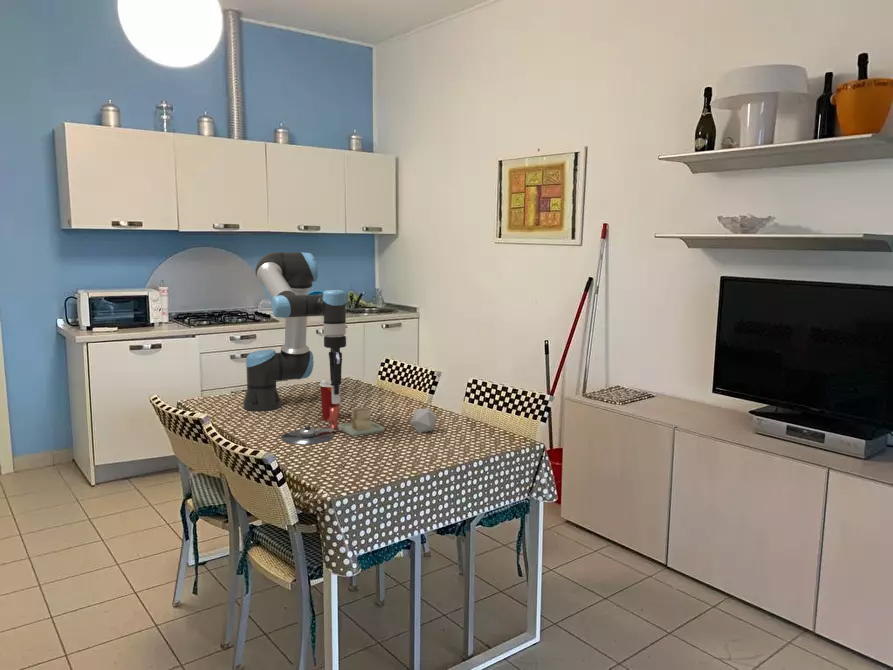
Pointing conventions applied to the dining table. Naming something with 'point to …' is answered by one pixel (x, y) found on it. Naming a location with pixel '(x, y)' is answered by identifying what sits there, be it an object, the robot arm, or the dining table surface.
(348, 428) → the tray
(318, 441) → the base plate
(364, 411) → the block
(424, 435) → the dining table surface
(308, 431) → the crank
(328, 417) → the coffee cup
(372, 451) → the dining table surface
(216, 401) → the dining table surface
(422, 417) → the die
